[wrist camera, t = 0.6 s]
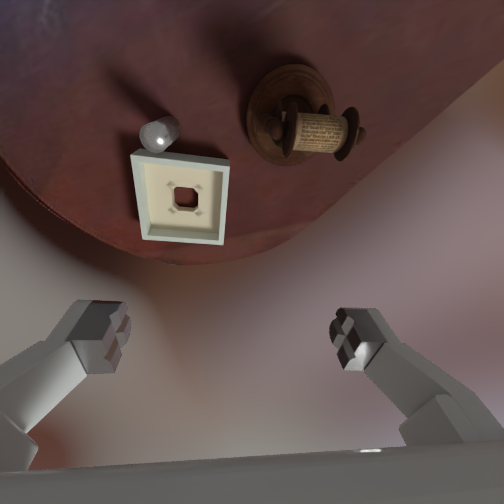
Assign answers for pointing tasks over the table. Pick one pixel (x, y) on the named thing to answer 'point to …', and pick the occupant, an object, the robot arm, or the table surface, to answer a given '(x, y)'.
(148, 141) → the metal peg
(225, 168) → the open box
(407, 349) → the robot arm
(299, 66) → the scroll
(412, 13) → the table surface
